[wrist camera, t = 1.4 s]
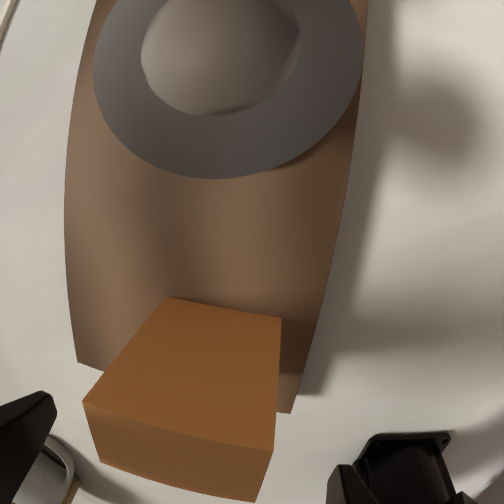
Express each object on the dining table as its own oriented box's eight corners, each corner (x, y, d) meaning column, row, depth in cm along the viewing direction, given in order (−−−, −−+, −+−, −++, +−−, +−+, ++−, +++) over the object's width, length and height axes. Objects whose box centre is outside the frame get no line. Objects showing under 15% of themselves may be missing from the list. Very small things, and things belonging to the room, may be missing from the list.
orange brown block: (166, 296, 13) (82, 400, 7) (281, 317, 13) (273, 450, 6) (165, 352, 14) (100, 461, 8) (269, 373, 14) (254, 502, 7)
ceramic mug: (79, 491, 24) (54, 536, 17) (22, 451, 24) (-9, 491, 16) (93, 460, 21) (59, 520, 14) (22, 409, 21) (-22, 458, 14)
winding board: (362, -93, 8) (385, -175, 1) (290, 395, 16) (286, 512, 9) (153, -97, 9) (104, -163, 2) (89, 348, 17) (18, 427, 10)
